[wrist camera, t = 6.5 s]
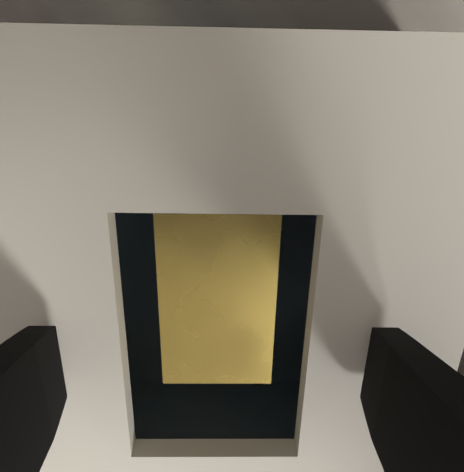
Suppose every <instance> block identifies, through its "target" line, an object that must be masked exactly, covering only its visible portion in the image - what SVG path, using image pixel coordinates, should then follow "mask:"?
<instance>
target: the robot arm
mask: <svg viewBox="0 0 464 472" xmlns="http://www.w3.org/2000/svg"><path fill="white" fill-rule="evenodd" d="M360 399H361V403H362V407H363V411H364V415H365V419H366V422H367V426H368V429H369V433H370V436H371V440H372V442H373V445H374V447H375V450H376V452H377V455H378V457H379V460H380V462H381V465H382V467H383V470H384V472H464V376H462V375H461V374H460V373H458V372H457V371H456V370H454V369H453V368H452V367H450V366H449V365H448V364H446V363H445V362H444V361H443V360H441V359H440V358H439V357H437V356H436V355H435V354H433V353H432V352H431V351H430V350H428V349H427V348H426V347H424V346H423V345H422V344H420V343H419V342H418V341H416V340H415V339H414V338H412V337H411V336H410V335H408V334H407V333H406V332H404V331H403V330H401V329H400V328H397V327H372V330H371V335H370V341H369V347H368V353H367V359H366V364H365V370H364V376H363V382H362V388H361V393H360ZM66 400H67V391H66V385H65V379H64V373H63V367H62V361H61V355H60V349H59V343H58V337H57V331H56V326H27V327H25V328H24V329H22V330H21V331H19V332H17V333H16V334H14V335H13V336H12V337H10V338H9V339H7V340H6V341H4V342H3V343H1V344H0V472H40V469H41V467H42V465H43V463H44V461H45V458H46V456H47V454H48V452H49V449H50V447H51V445H52V443H53V440H54V438H55V435H56V432H57V429H58V426H59V423H60V420H61V416H62V413H63V410H64V406H65V403H66Z"/></svg>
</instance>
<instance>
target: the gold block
mask: <svg viewBox="0 0 464 472" xmlns="http://www.w3.org/2000/svg"><path fill="white" fill-rule="evenodd" d="M153 221H154V238H155V255H156V273H157V290H158V307H159V324H160V342H161V359H162V376H163V384H271V376H272V361H273V346H274V330H275V315H276V300H277V285H278V269H279V254H280V239H281V223H282V215H272V214H184V213H153Z"/></svg>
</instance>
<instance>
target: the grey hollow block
mask: <svg viewBox="0 0 464 472" xmlns="http://www.w3.org/2000/svg"><path fill="white" fill-rule="evenodd" d="M153 213H184V214H272V215H282V223H281V239H280V254H279V269H278V285H277V300H276V315H275V330H274V346H273V361H272V376H271V384H163V376H162V359H161V342H160V324H159V307H158V290H157V273H156V255H155V238H154V221H153ZM27 326H56V331H57V337H58V343H59V349H60V355H61V361H62V367H63V373H64V379H65V385H66V391H67V400H66V403H65V406H64V410H63V413H62V416H61V420H60V423H59V426H58V429H57V432H56V435H55V438H54V440H53V443H52V445H51V447H50V449H49V452H48V454H47V456H46V458H45V461H44V463H43V465H42V467H41V469H40V472H384V470H383V467H382V465H381V462H380V460H379V457H378V455H377V452H376V450H375V447H374V445H373V442H372V440H371V436H370V433H369V429H368V426H367V422H366V419H365V415H364V411H363V407H362V403H361V399H360V393H361V388H362V382H363V376H364V370H365V364H366V359H367V353H368V347H369V341H370V335H371V330H372V327H397V328H400V329H401V330H403V331H404V332H406V333H407V334H408V335H410V336H411V337H412V338H414V339H415V340H416V341H418V342H419V343H420V344H422V345H423V346H424V347H426V348H427V349H428V350H430V351H431V352H432V353H433V354H435V355H436V356H437V357H439V358H440V359H441V360H443V361H444V362H445V363H446V364H448V365H449V366H450V367H452V368H453V369H454V370H456V371H457V370H458V367H459V363H460V360H461V356H462V352H463V349H464V33H459V32H414V31H368V30H322V29H277V28H231V27H186V26H140V25H94V24H49V23H3V22H0V344H1V343H3V342H4V341H6V340H7V339H9V338H10V337H12V336H13V335H14V334H16V333H17V332H19V331H21V330H22V329H24V328H25V327H27Z"/></svg>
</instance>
